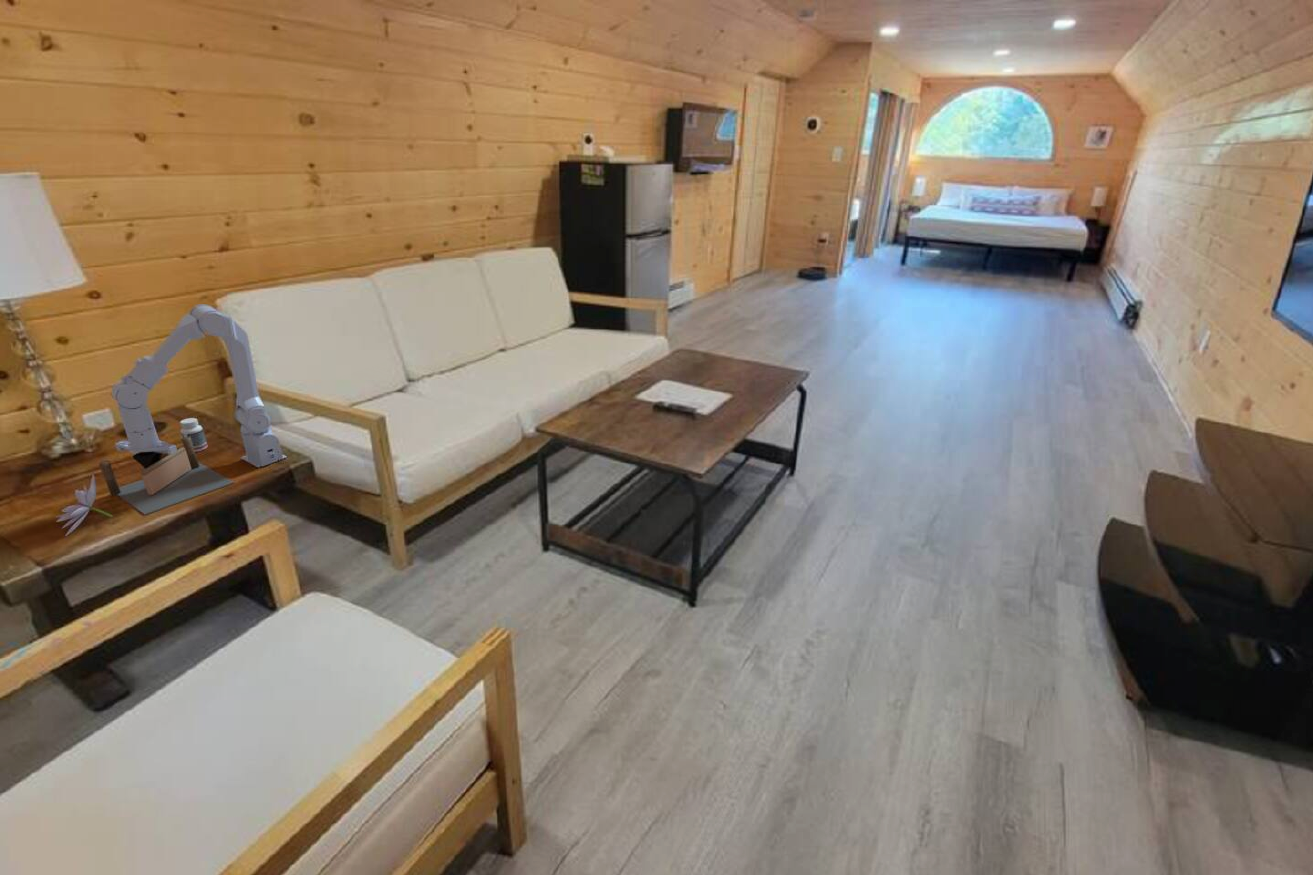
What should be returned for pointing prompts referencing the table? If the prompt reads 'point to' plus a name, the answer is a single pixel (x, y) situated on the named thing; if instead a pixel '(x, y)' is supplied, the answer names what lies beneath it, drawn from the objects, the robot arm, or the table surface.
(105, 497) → the table surface
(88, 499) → the water lily
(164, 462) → the brown rimmed panel
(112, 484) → the brown wooden posts
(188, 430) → the pill bottle
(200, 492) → the mat
